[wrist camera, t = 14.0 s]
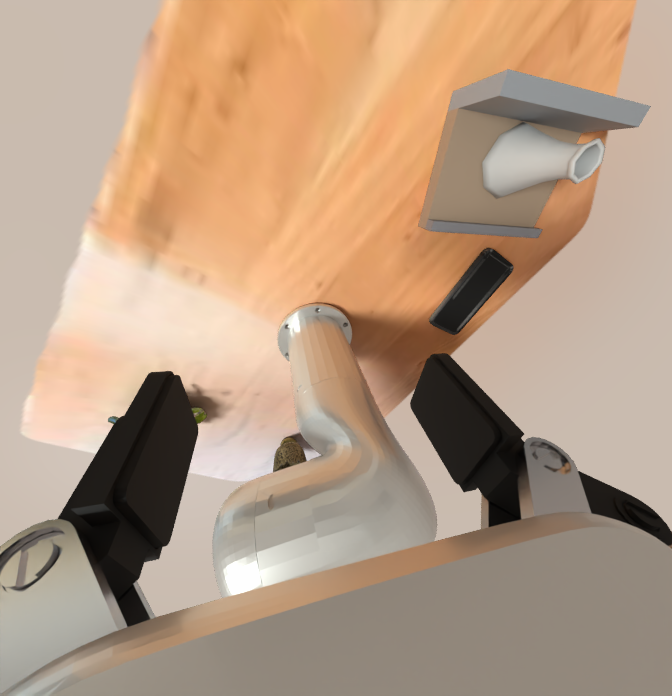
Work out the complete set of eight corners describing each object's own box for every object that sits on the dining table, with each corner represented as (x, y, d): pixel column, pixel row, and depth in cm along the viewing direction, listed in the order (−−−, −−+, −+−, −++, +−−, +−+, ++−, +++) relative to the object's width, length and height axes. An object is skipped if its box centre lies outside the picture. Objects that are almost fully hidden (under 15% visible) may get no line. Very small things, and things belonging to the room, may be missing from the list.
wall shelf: (518, 233, 39) (566, 245, 33) (418, 226, 35) (450, 239, 29) (574, 118, 31) (650, 106, 25) (452, 91, 27) (508, 69, 21)
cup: (274, 430, 55) (275, 465, 48) (307, 430, 57) (312, 463, 51) (270, 450, 58) (270, 484, 52) (300, 449, 61) (304, 482, 55)
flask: (540, 163, 32) (629, 163, 24) (491, 209, 34) (558, 222, 26) (526, 106, 28) (627, 83, 20) (471, 162, 30) (543, 160, 22)
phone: (515, 267, 42) (455, 336, 49) (510, 265, 43) (452, 333, 50) (489, 246, 39) (428, 323, 45) (484, 244, 40) (425, 320, 46)
